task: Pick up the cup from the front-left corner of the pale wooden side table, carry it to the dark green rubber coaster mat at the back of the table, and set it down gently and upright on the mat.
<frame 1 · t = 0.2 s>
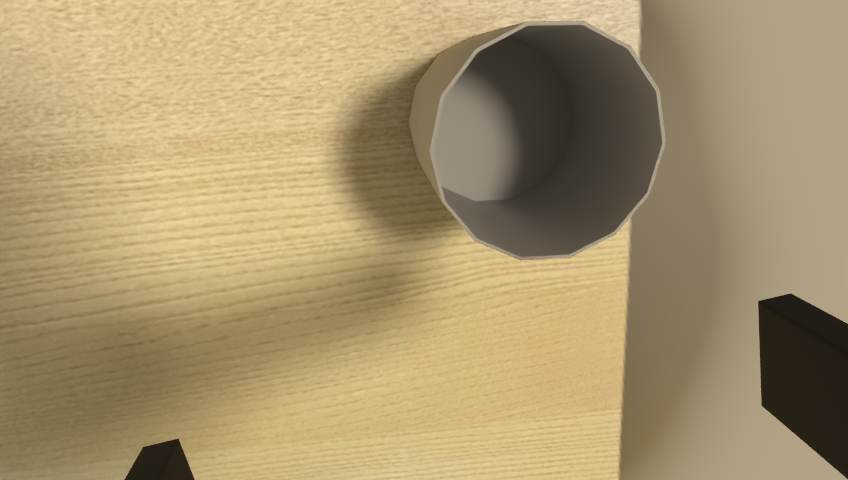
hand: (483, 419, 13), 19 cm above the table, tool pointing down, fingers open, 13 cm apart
cup: (489, 120, 30), on the table
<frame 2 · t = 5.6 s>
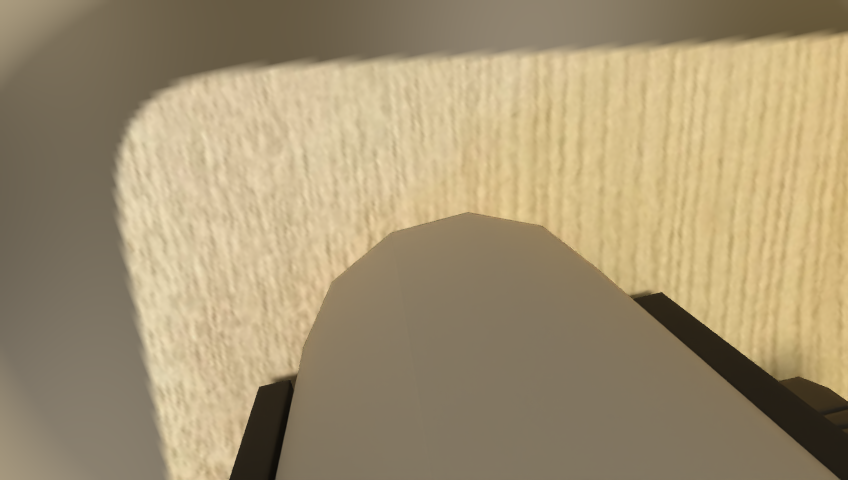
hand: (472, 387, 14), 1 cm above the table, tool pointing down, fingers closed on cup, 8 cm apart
cup: (465, 366, 15), on the table, touching gripper
when the fingers open (1 cm above the table, at t = 14.6 s): cup stays where it is, resting on coaster mat.
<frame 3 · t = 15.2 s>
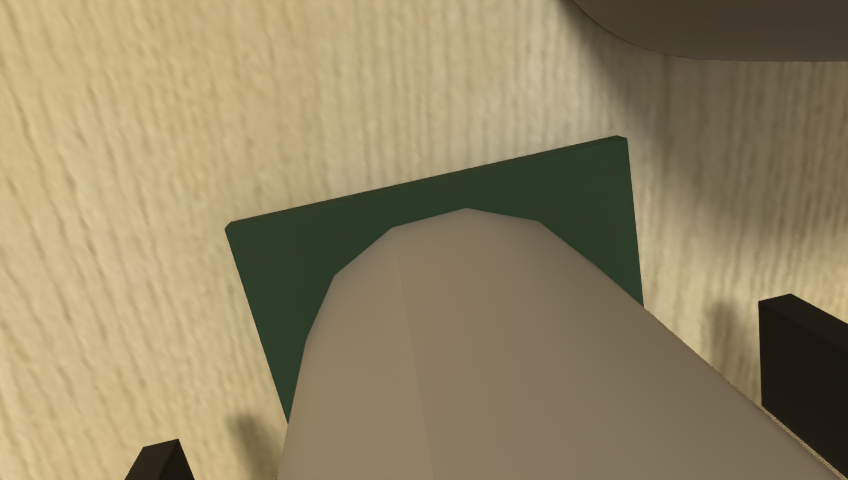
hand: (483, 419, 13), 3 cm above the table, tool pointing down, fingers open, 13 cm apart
cup: (464, 358, 16), resting on coaster mat
coaster mat: (462, 352, 16), on the table
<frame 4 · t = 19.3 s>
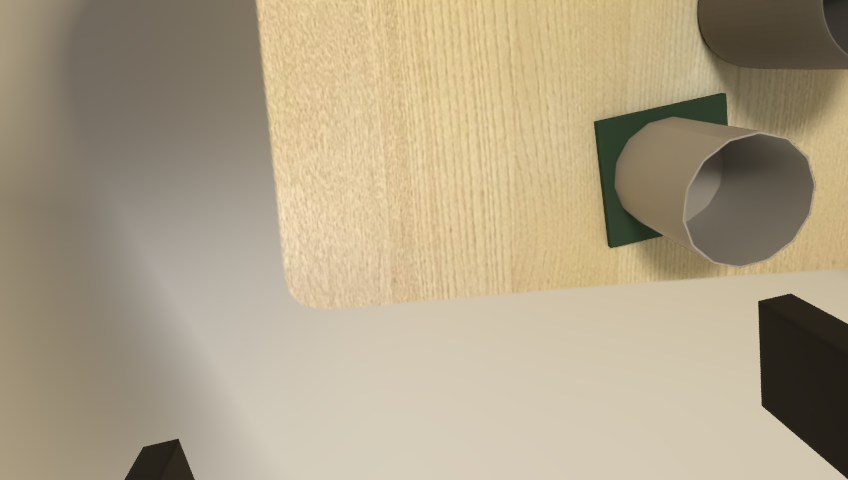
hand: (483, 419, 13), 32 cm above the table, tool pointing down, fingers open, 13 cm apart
cup: (665, 172, 45), resting on coaster mat
mug: (781, 2, 43), on the table
coaster mat: (663, 171, 45), on the table
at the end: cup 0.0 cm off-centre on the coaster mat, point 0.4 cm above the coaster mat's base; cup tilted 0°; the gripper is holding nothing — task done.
